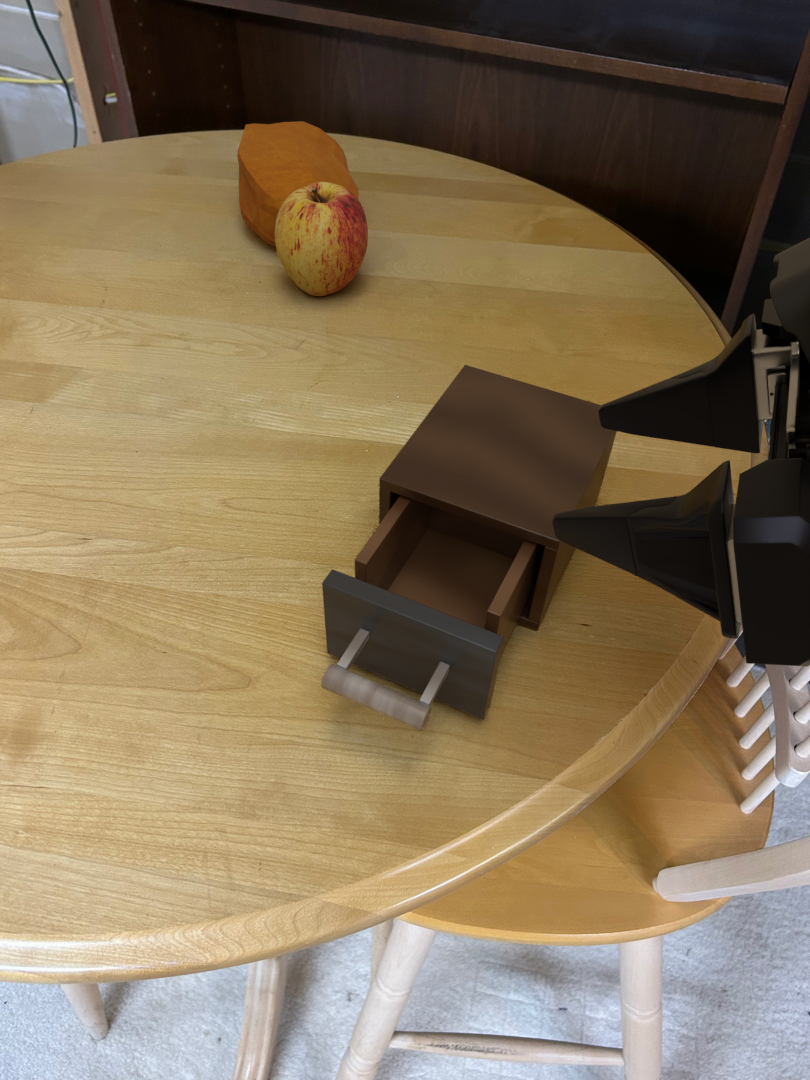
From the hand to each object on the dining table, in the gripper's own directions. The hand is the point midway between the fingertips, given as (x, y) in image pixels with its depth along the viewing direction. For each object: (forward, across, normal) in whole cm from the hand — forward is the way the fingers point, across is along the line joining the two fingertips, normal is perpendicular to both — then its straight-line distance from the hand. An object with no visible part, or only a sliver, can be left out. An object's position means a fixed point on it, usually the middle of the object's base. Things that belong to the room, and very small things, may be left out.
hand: (579, 466), depth 36 cm
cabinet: (+12, -13, +13) cm, 22 cm away
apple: (+35, -39, +1) cm, 53 cm away
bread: (+43, -52, -4) cm, 67 cm away
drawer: (+13, -2, +13) cm, 18 cm away
